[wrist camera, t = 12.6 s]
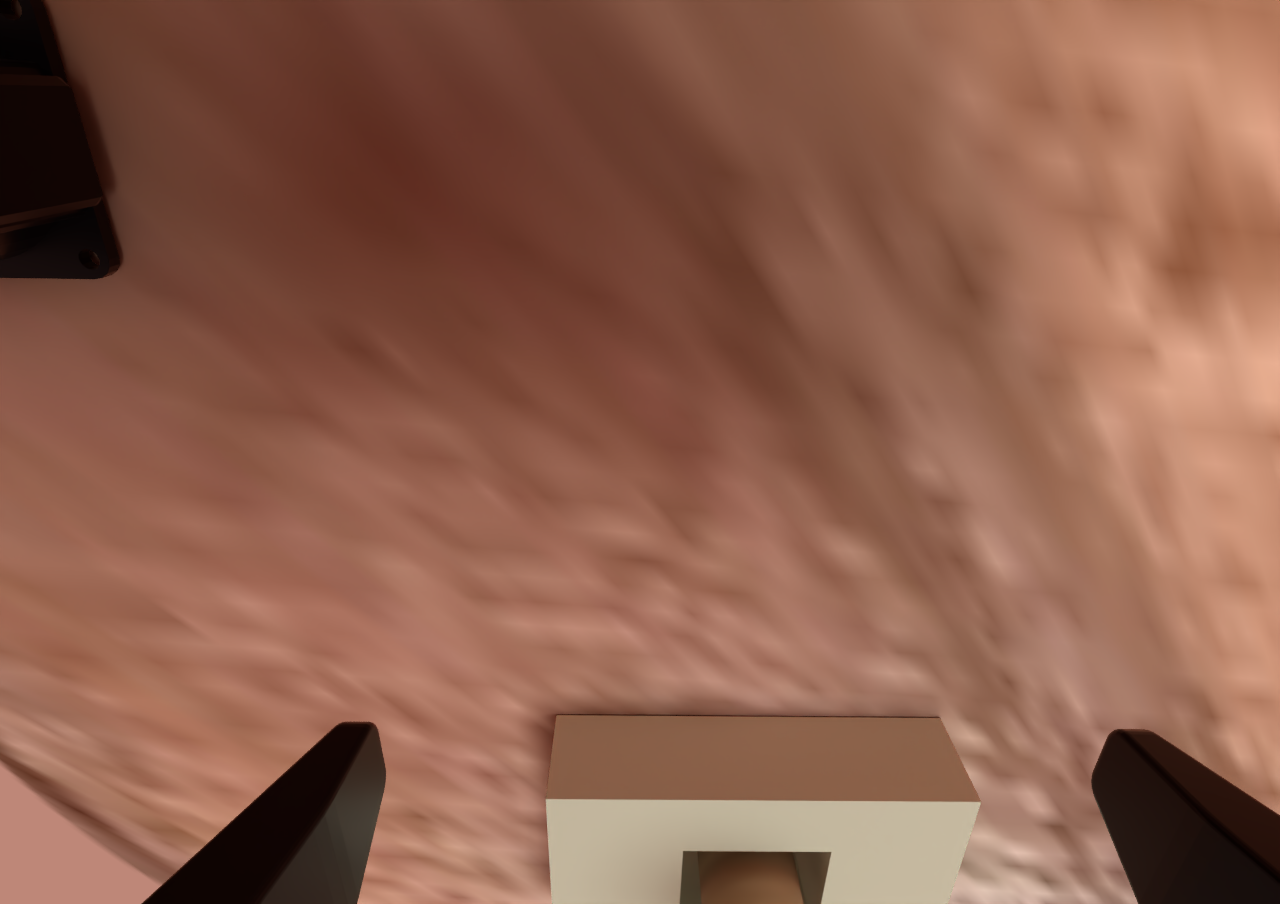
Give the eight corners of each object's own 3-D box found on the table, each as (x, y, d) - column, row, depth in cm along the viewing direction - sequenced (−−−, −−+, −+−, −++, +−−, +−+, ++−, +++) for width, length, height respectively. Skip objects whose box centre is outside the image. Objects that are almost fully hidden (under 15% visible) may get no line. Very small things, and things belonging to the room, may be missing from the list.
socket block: (564, 888, 31) (556, 979, 28) (556, 714, 26) (545, 799, 23) (893, 890, 31) (922, 980, 28) (940, 717, 26) (981, 801, 23)
